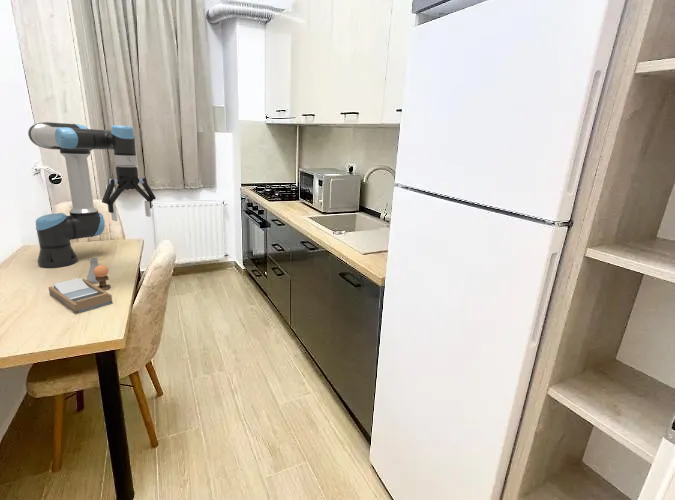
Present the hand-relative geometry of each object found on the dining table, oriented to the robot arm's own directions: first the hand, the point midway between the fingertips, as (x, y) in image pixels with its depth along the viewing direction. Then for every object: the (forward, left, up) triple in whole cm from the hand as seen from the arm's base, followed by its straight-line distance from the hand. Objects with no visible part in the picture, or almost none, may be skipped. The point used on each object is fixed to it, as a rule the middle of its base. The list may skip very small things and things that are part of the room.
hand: (132, 218), depth 149 cm
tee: (-2, -13, -28) cm, 31 cm away
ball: (-2, -13, -20) cm, 25 cm away
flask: (-13, -11, -28) cm, 33 cm away
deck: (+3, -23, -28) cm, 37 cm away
